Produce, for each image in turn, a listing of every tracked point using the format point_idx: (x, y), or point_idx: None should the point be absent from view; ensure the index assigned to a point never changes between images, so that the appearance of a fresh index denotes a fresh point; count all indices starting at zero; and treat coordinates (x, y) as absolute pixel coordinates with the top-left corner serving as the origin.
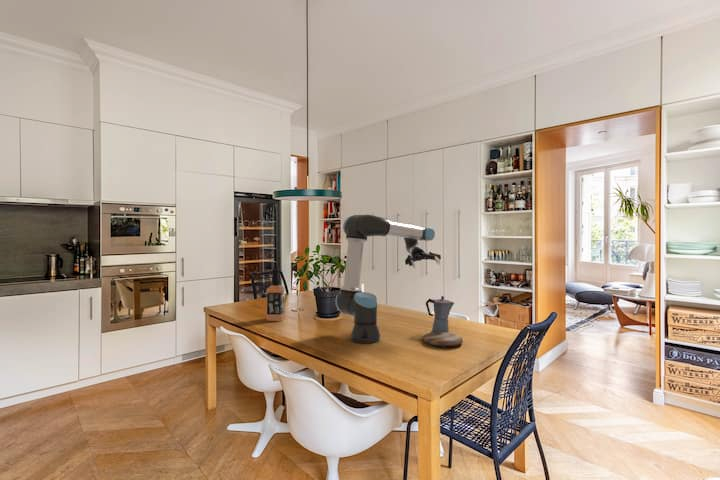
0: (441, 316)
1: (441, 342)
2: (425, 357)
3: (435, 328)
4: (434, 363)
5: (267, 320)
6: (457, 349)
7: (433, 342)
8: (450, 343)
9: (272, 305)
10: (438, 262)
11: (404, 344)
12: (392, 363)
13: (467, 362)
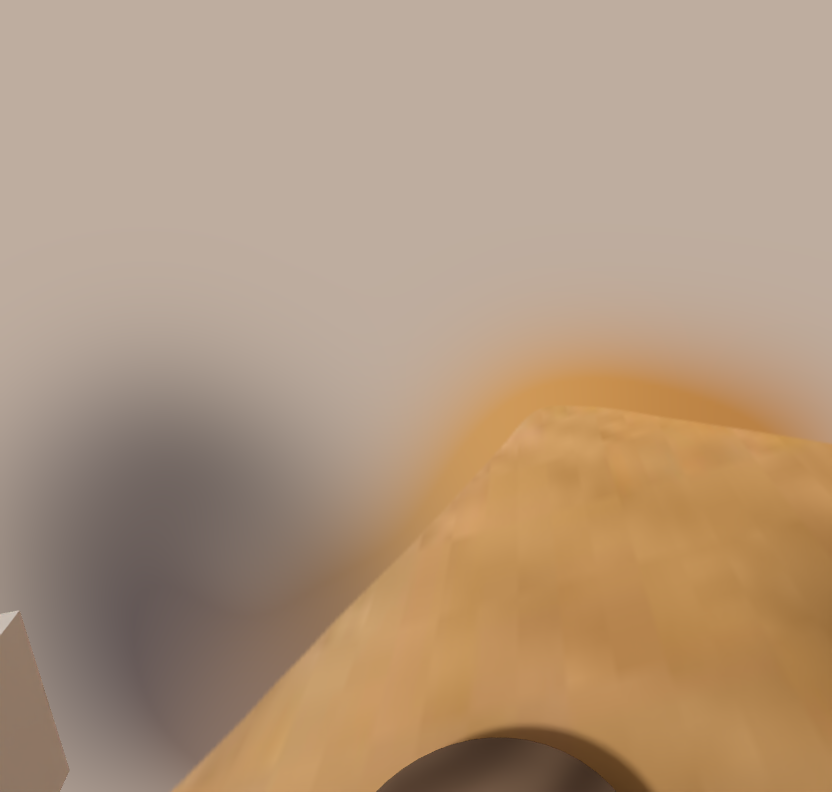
0: None
1: (497, 747)
2: (593, 600)
3: None
4: (542, 550)
5: None
6: None
7: (556, 751)
8: (436, 751)
9: None
10: (41, 704)
11: (803, 787)
12: (736, 497)
13: (390, 601)
